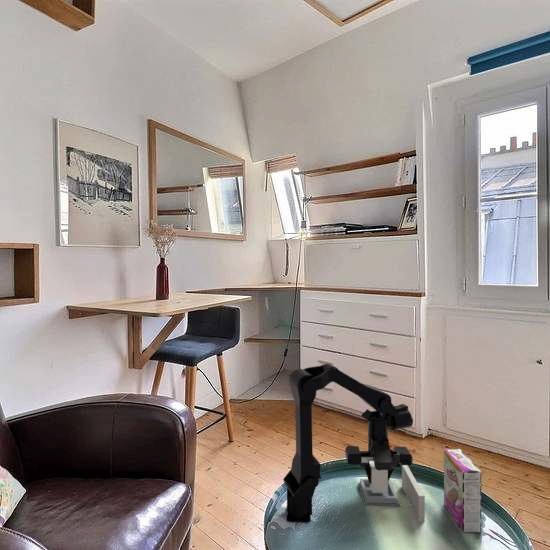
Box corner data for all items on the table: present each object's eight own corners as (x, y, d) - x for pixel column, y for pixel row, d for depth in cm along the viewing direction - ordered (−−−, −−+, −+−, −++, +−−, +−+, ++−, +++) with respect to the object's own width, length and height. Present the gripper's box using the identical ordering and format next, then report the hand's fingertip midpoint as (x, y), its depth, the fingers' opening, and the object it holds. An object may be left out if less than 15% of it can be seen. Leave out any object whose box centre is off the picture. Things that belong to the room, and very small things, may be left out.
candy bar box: (442, 504, 104) (442, 448, 104) (460, 504, 104) (460, 448, 104) (462, 533, 93) (463, 471, 92) (482, 533, 93) (482, 470, 92)
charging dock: (364, 505, 104) (364, 498, 104) (358, 483, 114) (358, 477, 114) (400, 505, 104) (400, 499, 104) (390, 484, 114) (390, 478, 114)
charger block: (372, 492, 107) (372, 468, 107) (368, 483, 111) (368, 460, 111) (387, 493, 107) (387, 469, 106) (383, 483, 111) (383, 460, 111)
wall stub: (418, 521, 98) (418, 495, 97) (401, 486, 113) (401, 464, 112) (424, 521, 98) (424, 495, 97) (406, 486, 113) (406, 464, 112)
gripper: (350, 445, 101) (351, 500, 101) (419, 446, 100) (419, 501, 100) (344, 426, 112) (345, 476, 112) (406, 427, 111) (406, 477, 112)
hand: (378, 483), depth 109 cm, fingers closed on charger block, 4 cm apart
